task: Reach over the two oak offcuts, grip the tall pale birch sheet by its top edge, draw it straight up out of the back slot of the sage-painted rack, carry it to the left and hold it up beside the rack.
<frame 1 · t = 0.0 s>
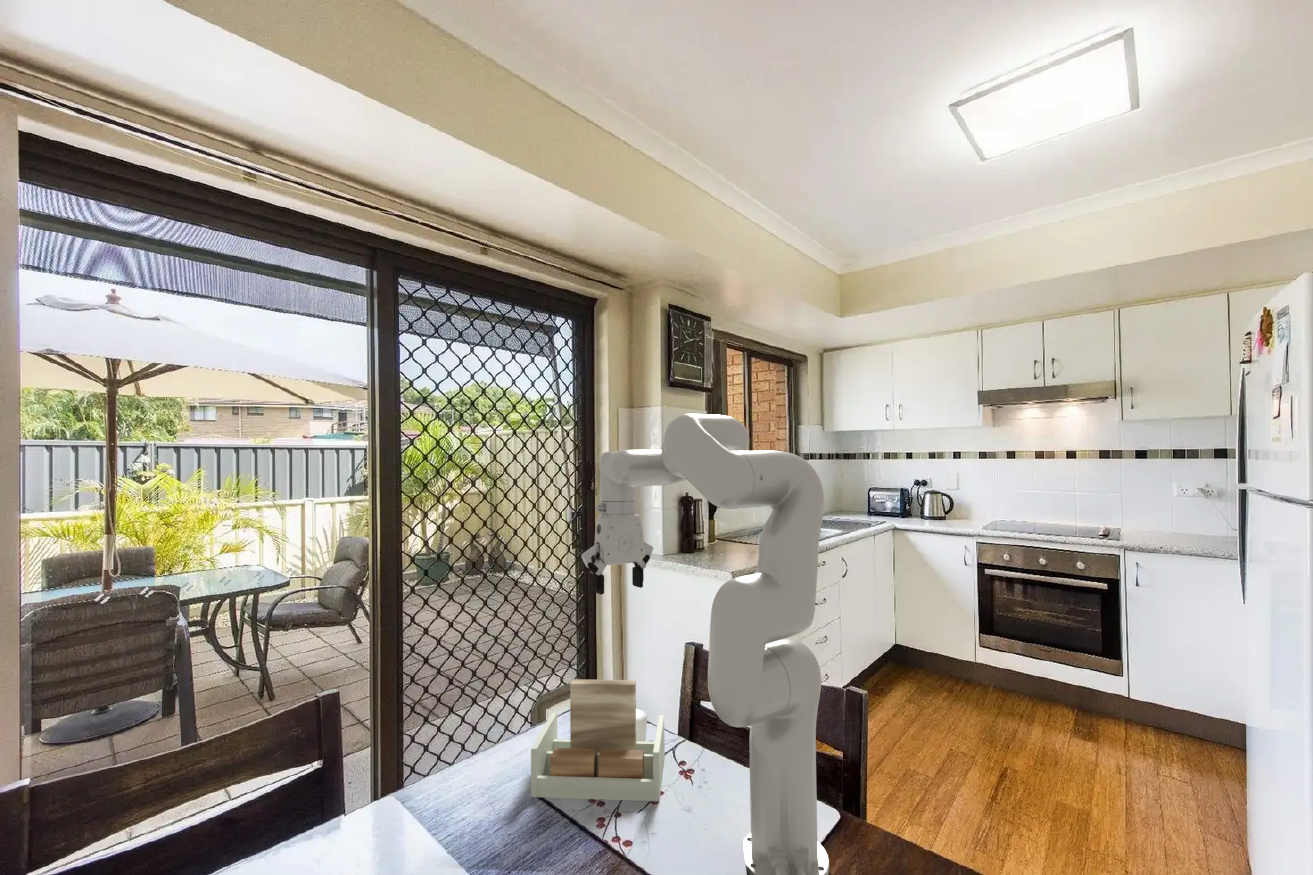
hand: (618, 589, 120), 31 cm above the table, tool pointing down, fingers open, 9 cm apart
offcut a: (574, 787, 99), point 1 cm above the table, touching rack
birch sheet: (603, 769, 104), point 1 cm above the table, touching rack
white cup: (631, 748, 115), on the table
rack: (601, 784, 102), on the table
offcut b: (621, 789, 98), point 1 cm above the table, touching rack
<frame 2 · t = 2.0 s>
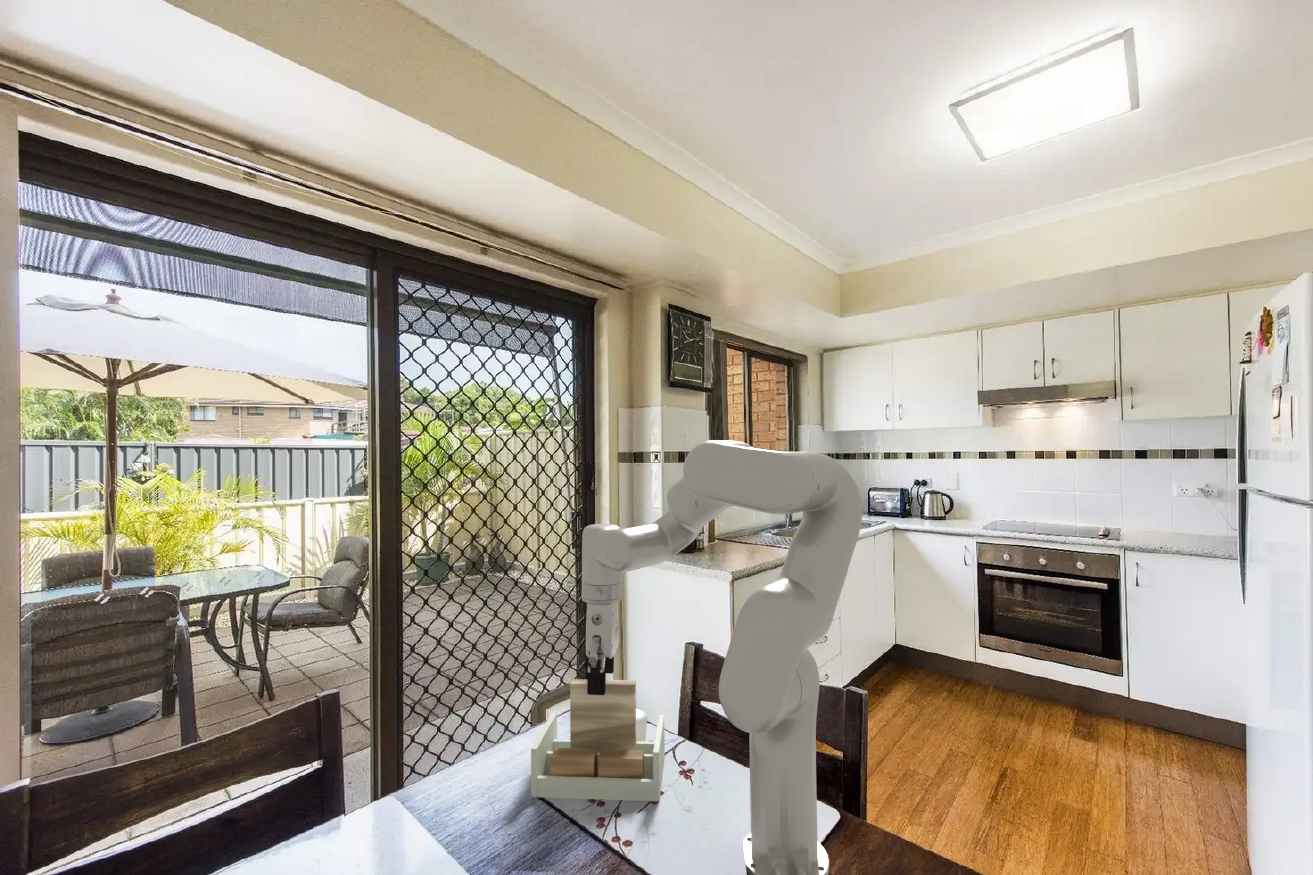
hand: (601, 683, 105), 17 cm above the table, tool pointing down, fingers open, 9 cm apart
nothing on the table moved.
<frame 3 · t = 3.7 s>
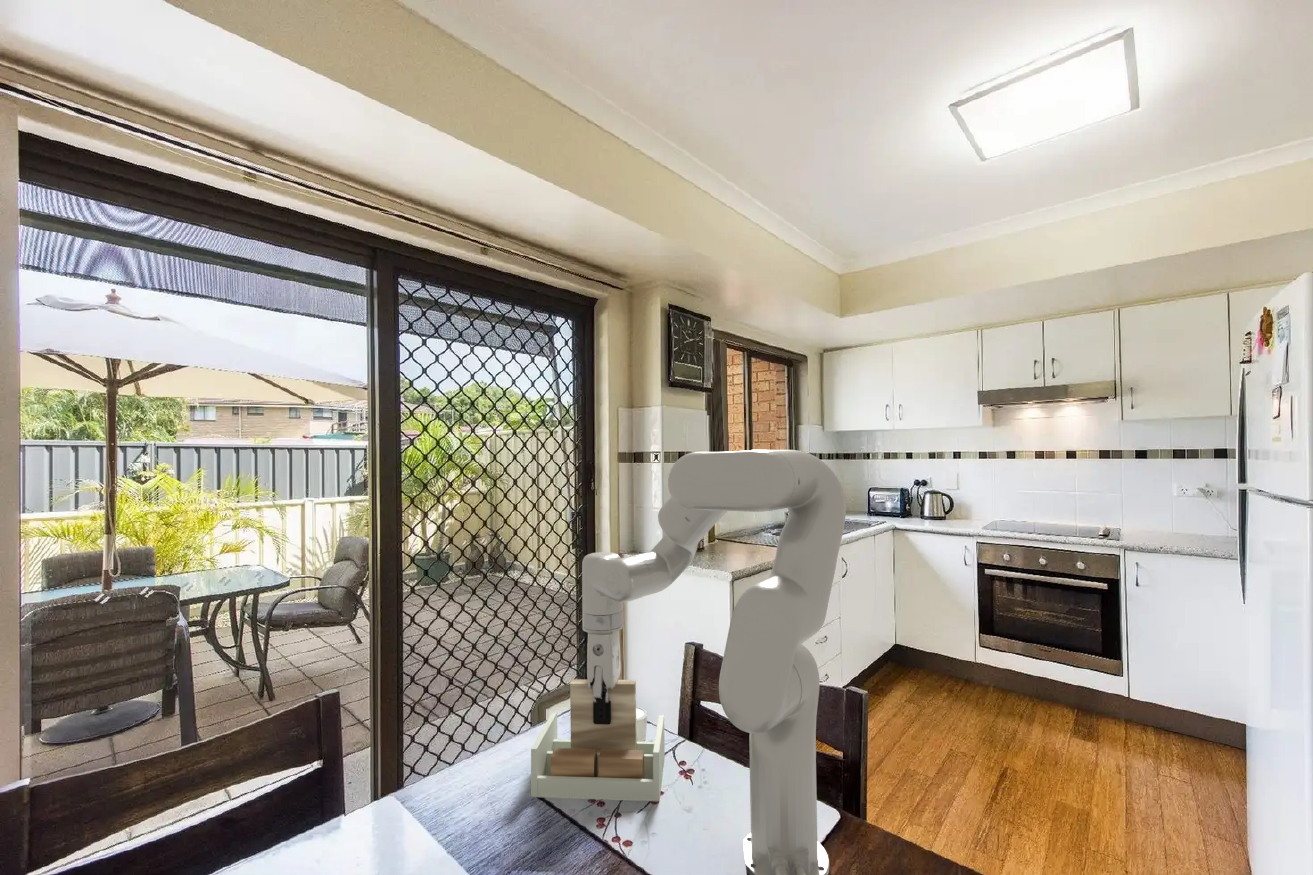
hand: (603, 719, 105), 11 cm above the table, tool pointing down, fingers closed on birch sheet, 2 cm apart
birch sheet: (604, 769, 104), point 2 cm above the table, touching gripper
everything else where it was.
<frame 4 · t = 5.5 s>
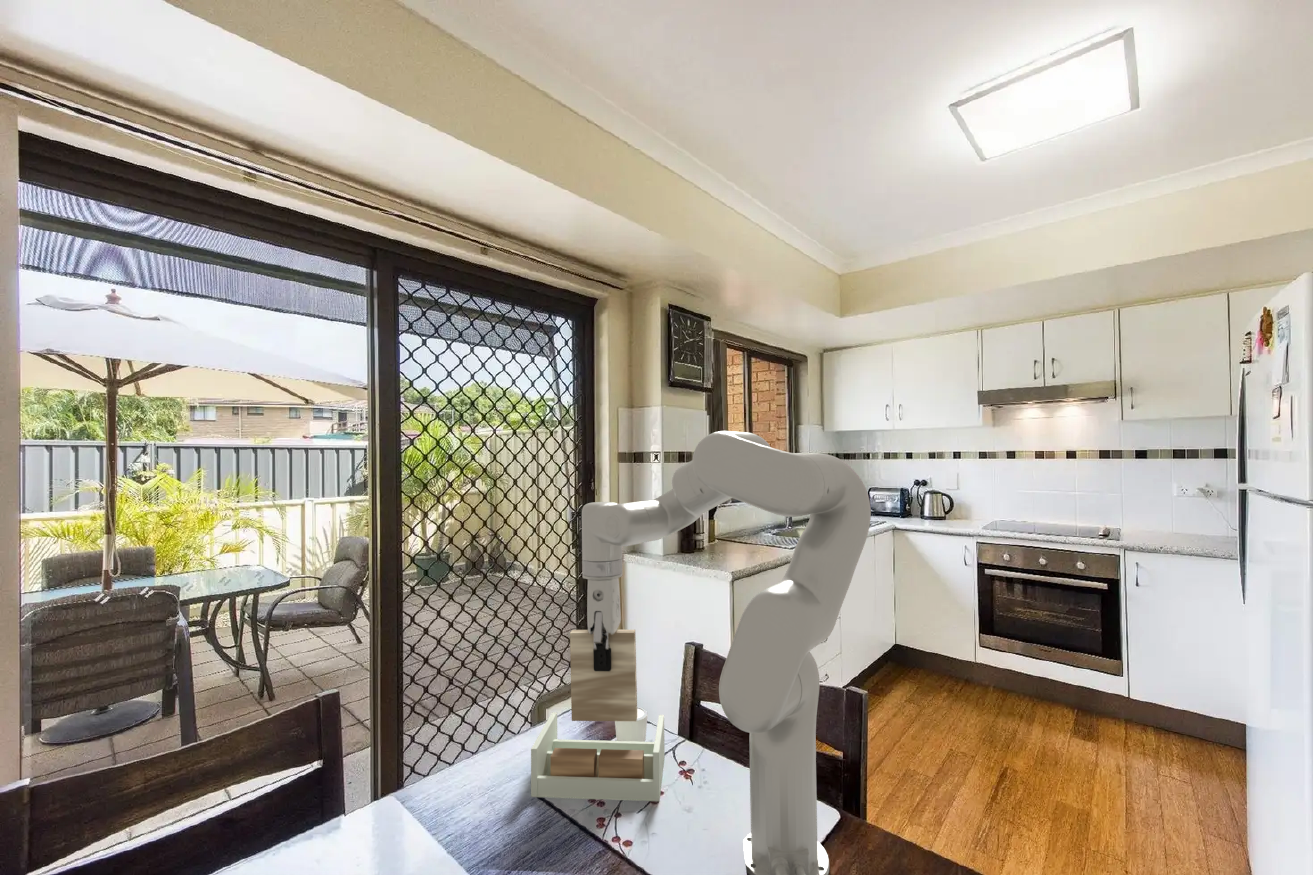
hand: (603, 667, 105), 20 cm above the table, tool pointing down, fingers closed on birch sheet
birch sheet: (604, 718, 105), point 11 cm above the table, touching gripper
everything else where it was.
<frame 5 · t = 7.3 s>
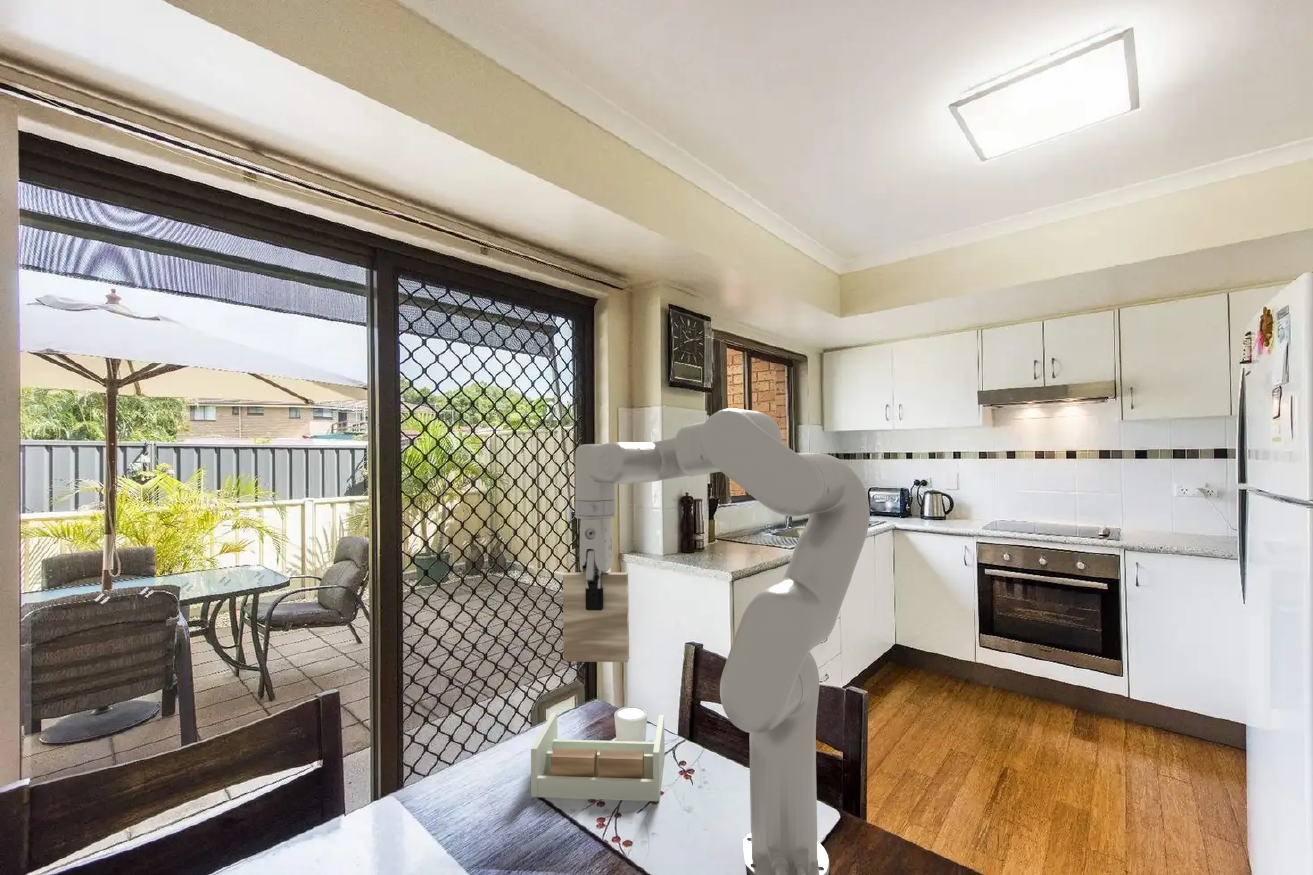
hand: (595, 607, 106), 31 cm above the table, tool pointing down, fingers closed on birch sheet
birch sheet: (596, 659, 105), point 22 cm above the table, touching gripper
everything else where it was.
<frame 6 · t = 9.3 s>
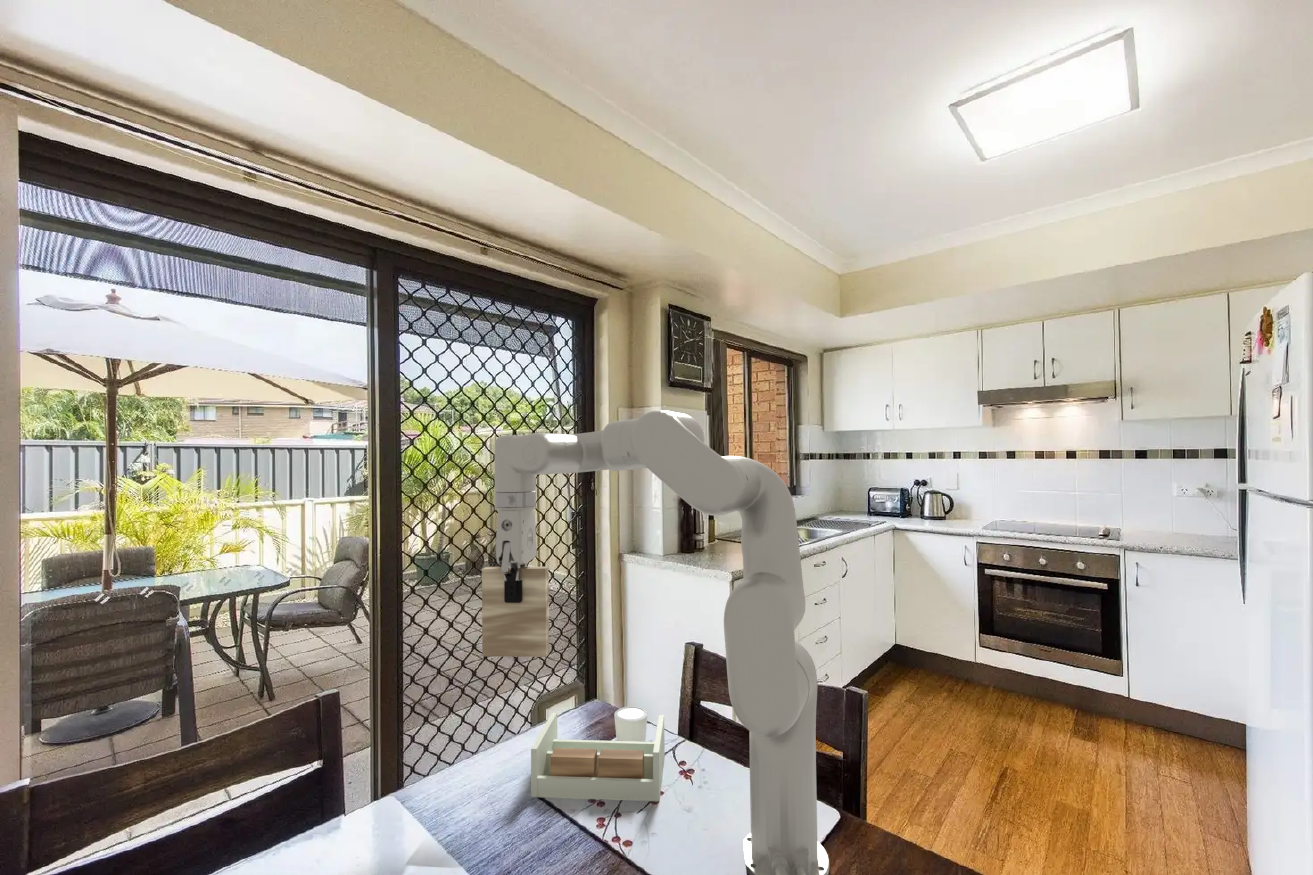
hand: (515, 599, 105), 33 cm above the table, tool pointing down, fingers closed on birch sheet
birch sheet: (516, 654, 104), point 23 cm above the table, touching gripper
everything else where it was.
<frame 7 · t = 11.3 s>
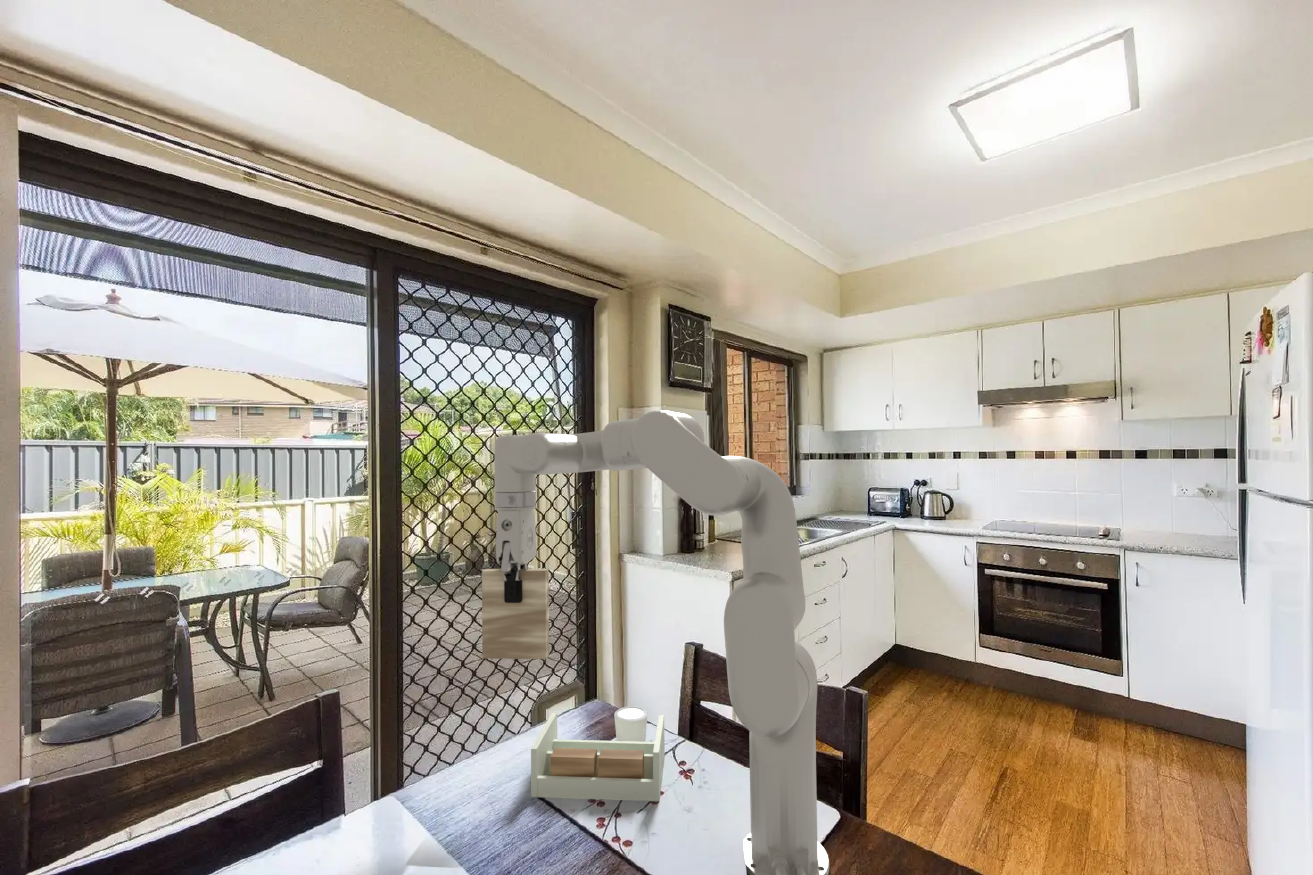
hand: (515, 599, 105), 33 cm above the table, tool pointing down, fingers closed on birch sheet
birch sheet: (516, 656, 104), point 23 cm above the table, touching gripper
everything else where it was.
at the end: birch sheet inside the target area (1.2 cm from its centre), point 22.5 cm above the table; the gripper is holding birch sheet; offcut a moved 0.0 cm from its start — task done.
